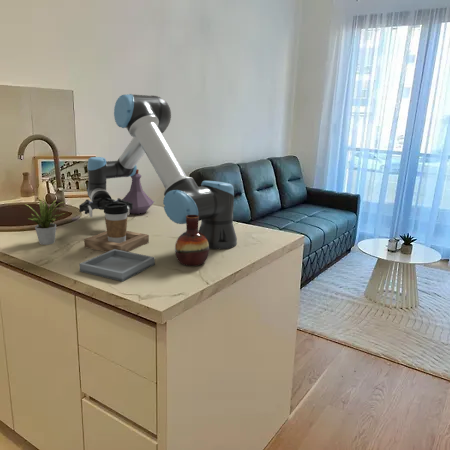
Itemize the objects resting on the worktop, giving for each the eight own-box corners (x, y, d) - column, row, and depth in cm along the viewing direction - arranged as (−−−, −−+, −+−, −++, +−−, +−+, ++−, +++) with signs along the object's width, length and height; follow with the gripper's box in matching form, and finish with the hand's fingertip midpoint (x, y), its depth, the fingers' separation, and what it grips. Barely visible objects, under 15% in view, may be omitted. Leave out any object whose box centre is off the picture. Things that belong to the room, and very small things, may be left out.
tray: (154, 264, 136) (154, 257, 135) (122, 281, 122) (122, 273, 121) (114, 256, 142) (114, 249, 141) (79, 271, 128) (79, 263, 127)
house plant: (79, 241, 156) (76, 197, 152) (47, 251, 145) (43, 204, 140) (53, 234, 163) (50, 192, 159) (20, 243, 152) (16, 198, 147)
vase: (178, 269, 132) (178, 221, 128) (172, 257, 143) (172, 212, 139) (212, 266, 135) (213, 219, 131) (204, 255, 146) (205, 211, 142)
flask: (138, 218, 193) (137, 175, 186) (111, 212, 200) (109, 170, 194) (161, 210, 206) (161, 169, 200) (135, 204, 214) (134, 164, 207)
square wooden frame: (148, 242, 157) (148, 234, 157) (120, 254, 143) (120, 246, 143) (114, 236, 164) (114, 228, 163) (84, 247, 150) (83, 239, 149)
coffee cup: (122, 249, 149) (121, 208, 145) (100, 246, 151) (98, 205, 147) (133, 242, 157) (132, 202, 153) (112, 240, 159) (110, 200, 154)
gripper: (131, 206, 184) (143, 220, 166) (69, 209, 174) (75, 224, 155) (131, 189, 182) (143, 201, 163) (69, 191, 171) (74, 204, 153)
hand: (110, 212), depth 159 cm, fingers open, 13 cm apart
